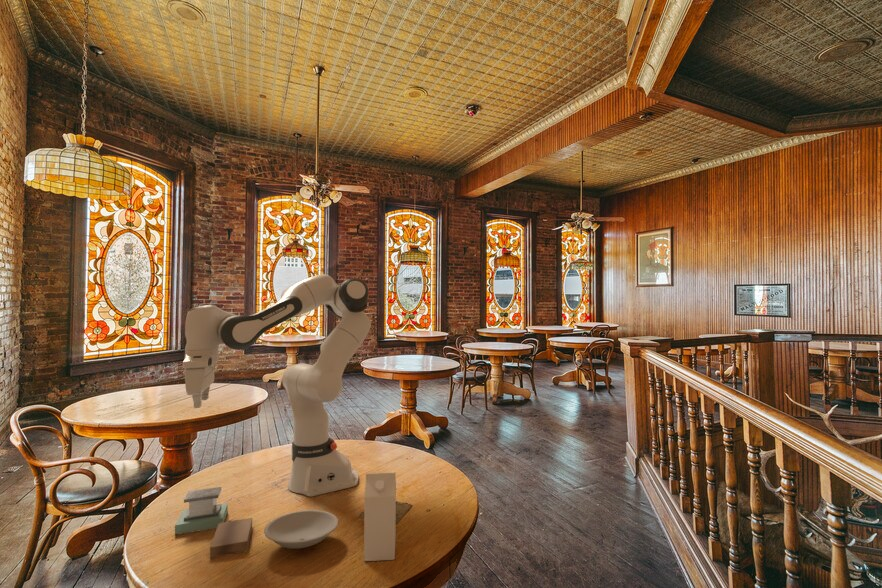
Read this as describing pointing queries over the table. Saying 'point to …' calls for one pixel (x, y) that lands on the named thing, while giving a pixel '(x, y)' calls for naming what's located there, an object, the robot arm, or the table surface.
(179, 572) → the table surface
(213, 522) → the stand
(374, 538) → the milk carton
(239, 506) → the table surface
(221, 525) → the stand
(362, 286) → the robot arm
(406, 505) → the speckled grey square slab
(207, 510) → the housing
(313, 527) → the dish
